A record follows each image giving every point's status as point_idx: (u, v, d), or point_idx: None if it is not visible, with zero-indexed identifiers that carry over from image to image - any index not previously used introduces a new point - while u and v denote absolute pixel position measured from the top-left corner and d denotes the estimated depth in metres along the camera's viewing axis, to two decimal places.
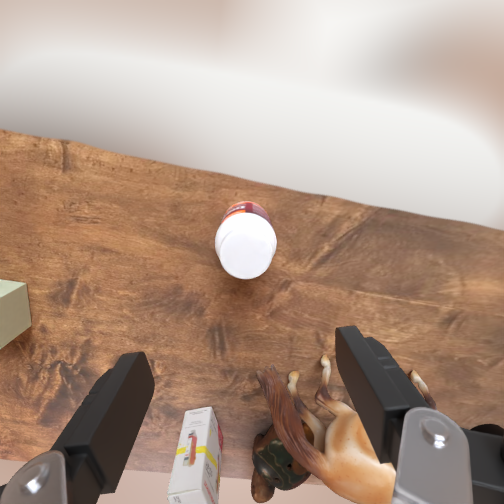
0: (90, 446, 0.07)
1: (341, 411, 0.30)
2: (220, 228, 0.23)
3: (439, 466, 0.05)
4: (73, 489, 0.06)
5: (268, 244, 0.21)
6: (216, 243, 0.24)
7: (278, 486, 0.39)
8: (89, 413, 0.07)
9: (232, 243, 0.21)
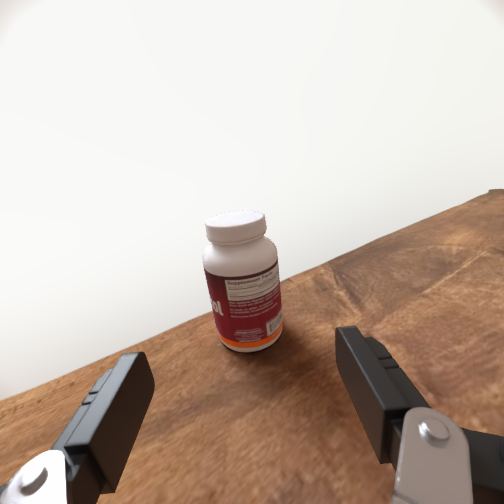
0: (90, 446, 0.07)
1: None
2: (203, 255, 0.20)
3: (439, 466, 0.05)
4: (73, 489, 0.06)
5: (245, 211, 0.21)
6: (208, 259, 0.19)
7: None
8: (89, 413, 0.07)
9: (214, 219, 0.19)
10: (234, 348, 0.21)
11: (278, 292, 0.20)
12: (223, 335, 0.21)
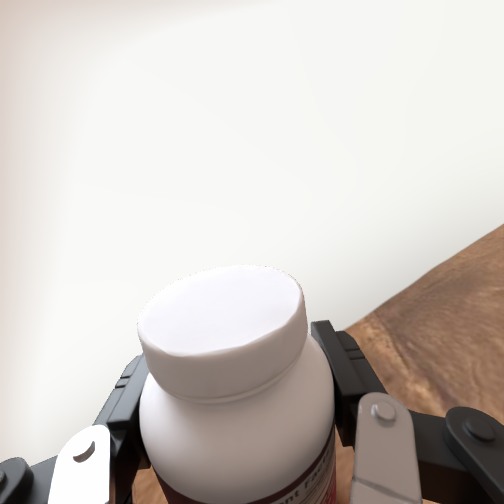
0: (130, 423, 0.07)
1: None
2: (143, 388, 0.08)
3: (383, 443, 0.06)
4: (118, 461, 0.07)
5: (247, 266, 0.09)
6: (146, 424, 0.06)
7: None
8: (125, 394, 0.08)
9: (168, 302, 0.07)
10: None
11: (335, 470, 0.08)
12: None
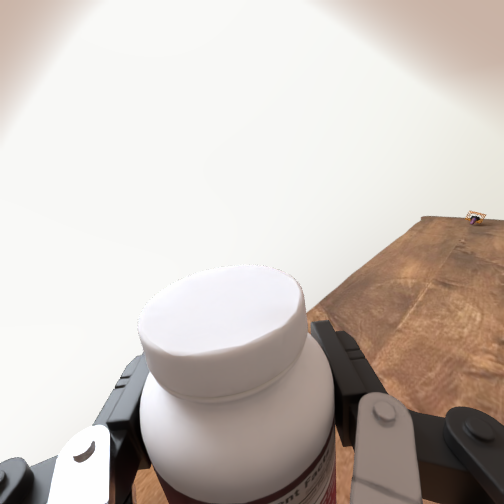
0: (130, 423, 0.07)
1: None
2: (144, 388, 0.08)
3: (383, 443, 0.06)
4: (118, 461, 0.07)
5: (248, 265, 0.09)
6: (146, 423, 0.06)
7: None
8: (125, 394, 0.08)
9: (168, 301, 0.07)
10: None
11: (335, 470, 0.08)
12: None
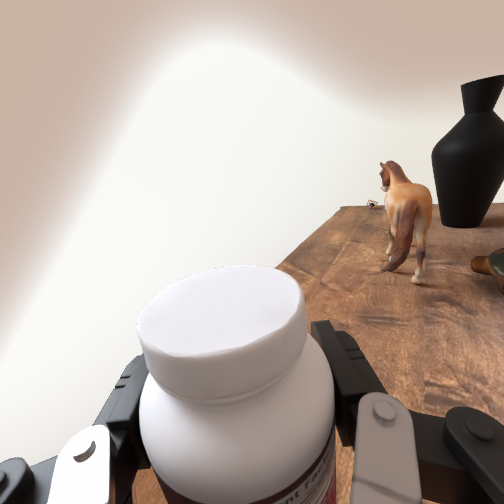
0: (130, 423, 0.07)
1: (392, 227, 0.47)
2: (143, 388, 0.08)
3: (383, 443, 0.06)
4: (118, 461, 0.07)
5: (247, 266, 0.09)
6: (146, 424, 0.06)
7: None
8: (125, 394, 0.08)
9: (168, 302, 0.07)
10: None
11: (335, 471, 0.08)
12: None
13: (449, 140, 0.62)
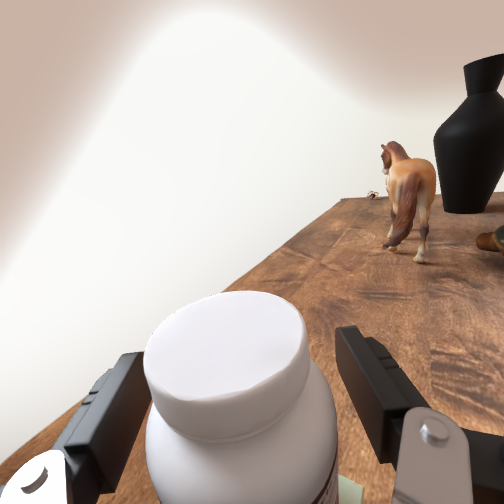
0: (90, 446, 0.07)
1: (394, 204, 0.45)
2: (149, 416, 0.08)
3: (439, 466, 0.05)
4: (73, 489, 0.06)
5: (250, 291, 0.09)
6: (152, 457, 0.07)
7: None
8: (89, 413, 0.07)
9: (173, 334, 0.07)
10: None
11: (338, 496, 0.08)
12: None
13: (452, 122, 0.60)
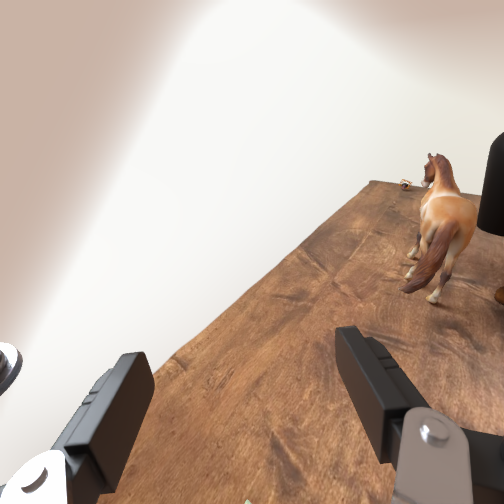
0: (90, 446, 0.07)
1: (422, 240, 0.43)
2: None
3: (439, 466, 0.05)
4: (73, 489, 0.06)
5: None
6: None
7: None
8: (89, 413, 0.07)
9: None
10: None
11: None
12: None
13: None
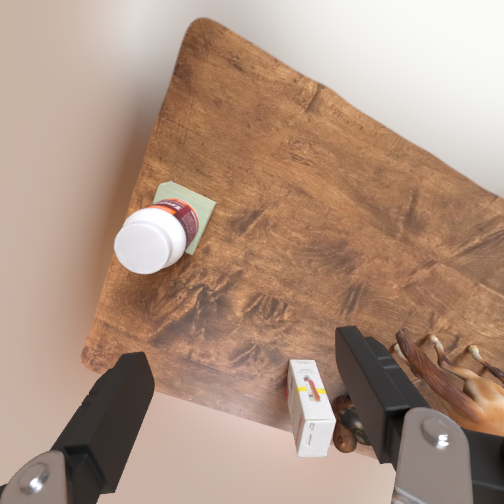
0: (90, 446, 0.07)
1: (471, 375, 0.36)
2: (140, 211, 0.23)
3: (439, 466, 0.05)
4: (73, 489, 0.06)
5: (167, 255, 0.22)
6: (127, 220, 0.23)
7: (368, 439, 0.43)
8: (89, 413, 0.07)
9: (136, 232, 0.21)
10: None
11: None
12: None
13: None
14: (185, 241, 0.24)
